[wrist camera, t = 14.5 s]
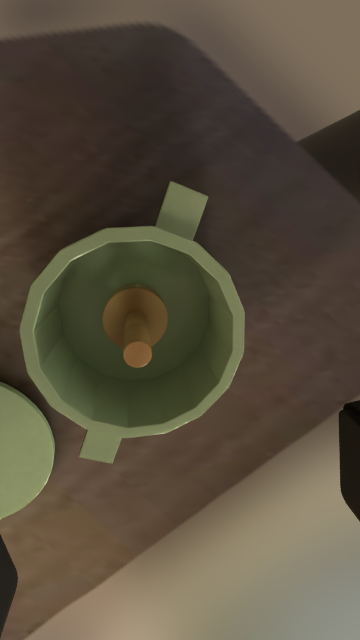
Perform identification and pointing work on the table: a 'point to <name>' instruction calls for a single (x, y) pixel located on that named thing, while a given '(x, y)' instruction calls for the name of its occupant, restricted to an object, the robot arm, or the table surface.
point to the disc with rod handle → (135, 321)
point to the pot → (107, 358)
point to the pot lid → (22, 450)
